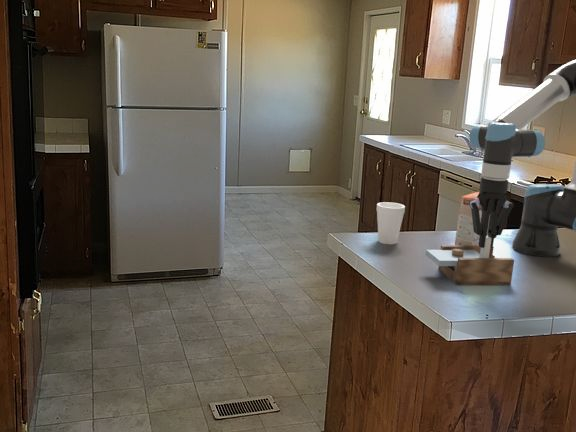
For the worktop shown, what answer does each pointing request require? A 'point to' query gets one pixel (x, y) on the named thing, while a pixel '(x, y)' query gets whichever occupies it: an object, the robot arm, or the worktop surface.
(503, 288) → the worktop surface
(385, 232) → the foam cup
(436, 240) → the worktop surface
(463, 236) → the cracker box
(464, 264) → the box
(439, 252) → the lid
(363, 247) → the worktop surface
